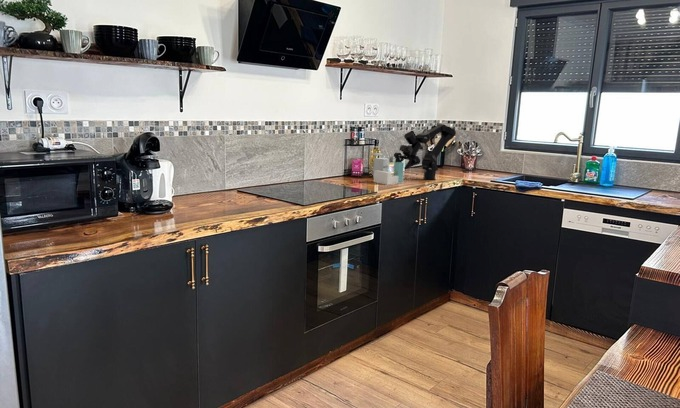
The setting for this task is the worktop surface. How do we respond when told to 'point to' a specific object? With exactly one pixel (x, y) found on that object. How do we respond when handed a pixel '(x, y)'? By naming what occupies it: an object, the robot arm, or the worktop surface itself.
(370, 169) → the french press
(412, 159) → the robot arm
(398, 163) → the teal rectangular block
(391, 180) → the socket
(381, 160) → the supplement box
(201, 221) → the worktop surface
